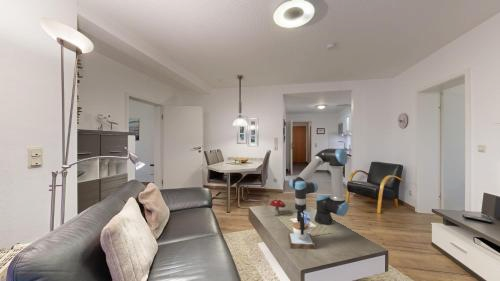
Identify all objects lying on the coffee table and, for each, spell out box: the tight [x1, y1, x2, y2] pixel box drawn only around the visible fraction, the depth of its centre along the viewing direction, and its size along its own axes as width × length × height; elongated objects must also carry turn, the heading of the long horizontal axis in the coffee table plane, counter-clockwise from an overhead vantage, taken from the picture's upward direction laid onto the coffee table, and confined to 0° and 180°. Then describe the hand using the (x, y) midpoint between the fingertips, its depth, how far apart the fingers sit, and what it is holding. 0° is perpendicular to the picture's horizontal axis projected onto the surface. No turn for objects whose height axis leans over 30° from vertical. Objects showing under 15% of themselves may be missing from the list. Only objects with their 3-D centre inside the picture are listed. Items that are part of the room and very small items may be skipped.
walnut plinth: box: [287, 232, 316, 250], centre depth 140 cm, size 16×16×3 cm
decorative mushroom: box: [268, 198, 286, 217], centre depth 191 cm, size 16×16×15 cm
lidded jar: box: [292, 221, 309, 238], centre depth 140 cm, size 11×11×9 cm
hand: (300, 234), depth 140 cm, fingers closed on lidded jar, 11 cm apart
